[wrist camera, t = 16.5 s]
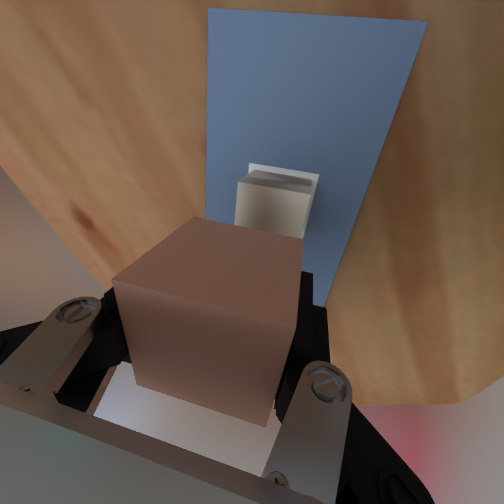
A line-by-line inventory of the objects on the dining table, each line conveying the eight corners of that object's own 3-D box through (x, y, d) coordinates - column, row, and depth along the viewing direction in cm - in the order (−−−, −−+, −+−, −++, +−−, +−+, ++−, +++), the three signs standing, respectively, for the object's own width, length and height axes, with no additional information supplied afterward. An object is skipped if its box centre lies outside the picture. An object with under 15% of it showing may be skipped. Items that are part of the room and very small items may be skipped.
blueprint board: (424, 25, 14) (429, 20, 14) (319, 315, 27) (319, 319, 26) (211, 11, 16) (207, 7, 16) (206, 286, 29) (204, 290, 28)
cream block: (312, 179, 19) (310, 194, 15) (298, 232, 22) (294, 258, 18) (254, 169, 20) (237, 181, 16) (248, 222, 23) (232, 244, 18)
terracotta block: (303, 239, 10) (296, 327, 5) (282, 322, 12) (265, 427, 8) (194, 216, 10) (111, 279, 6) (195, 299, 13) (137, 384, 9)
